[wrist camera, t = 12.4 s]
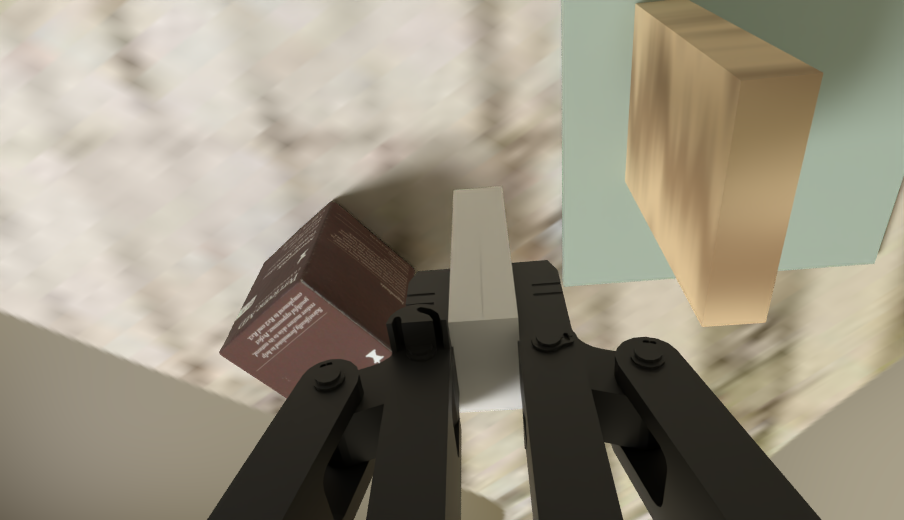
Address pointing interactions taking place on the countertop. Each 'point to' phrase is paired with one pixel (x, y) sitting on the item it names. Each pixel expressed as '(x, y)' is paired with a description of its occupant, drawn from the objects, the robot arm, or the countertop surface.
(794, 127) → the tile
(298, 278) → the box
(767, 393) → the countertop surface
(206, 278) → the countertop surface
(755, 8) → the mat
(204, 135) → the countertop surface
